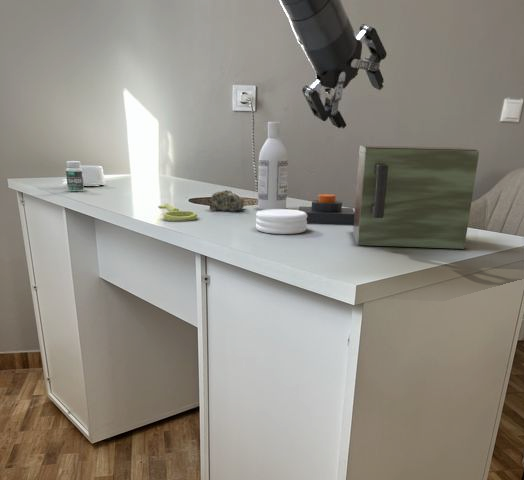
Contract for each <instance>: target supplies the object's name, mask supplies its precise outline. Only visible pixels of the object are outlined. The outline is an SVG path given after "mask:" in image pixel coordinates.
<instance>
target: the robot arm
mask: <svg viewBox="0 0 524 480" xmlns="http://www.w3.org/2000/svg"><path fill="white" fill-rule="evenodd" d="M278 1H279V3H280V5H281V6H282V7H281V8H283V11H284V12H285V14H286V16H287V18H288V21H289V24H290V26H291V30H292V31H293V33H294V35H295V38H296V40H297V43H298V44H299V45H300V47H301V48H302V50H303V53H304V54H305V56H306V58H307V60H308V62H309V63H310V65H311V67H312V69H313V71H314V72H315V78H316V80H314V81H313V82H312V83H311V84H310V85H309V86H308V85H303V87H302V89H301V92H302V94H303V96H304V98H305V100H306V102H307V105H308V106H309V108H310V110H311V113H312V115H313V116H314V117H315V118H317V119H319V120H321V121H322V122H327V121H328V119H329V121H330V122H331V124H332V125H333V126H335V127H336V128H338V129H342V130H344V129H345V128H346V127H347V122H346V121H345V119H344V117H343V115H342V114H341V112H340V110H339V104H340V101H341V100H342V97H343V89H344V90H345V89H346V88H347V86H348V85H349V84H350V82H351V81H352V80H353V79H355V78H356V77H357V76H358V74H359V70H360V69H361V70H364V71H365V73H366V75H367V77H368V80H369V82H370V84H371V85H372V87H373V88H374V89H376V90H378V91H381V90H382V89H383V88H384V85H383V83H384V81H385V80H384V77H383V74H382V72H381V69H380V63H381V61H382V60H385V59H386V58H387V55H388V54H387V51H386V49H385V47H384V45H383V43H382V40H381V38H380V35H379V33H378V32H377V29H376V28H375V27H373V26H371V25H368V24H366V23H362V24H361V25H360V26H359V33H357V35H356V33H355V30H354V28H353V26H352V23H351V20H350V18H349V16H348V14H347V11H346V9H345V7H344V4H343V2H342V0H278ZM363 44H364V45H366V46H367V47H366V48H367V49H368V50H369V53H370V56H369V57H363V56H362V51H363ZM321 89H322V91H321ZM332 89H333V90H332ZM322 96H323V101H322V99H321V98H322Z"/></svg>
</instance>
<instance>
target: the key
mask: <svg viewBox="0 0 524 480" xmlns="http://www.w3.org/2000/svg"><path fill="white" fill-rule="evenodd" d="M157 208H158V209H160V210H163V209H165V210H166V211H165V212H163V220H164V221H168V222H182V221H184V222H185V221H195V220H197V218H198V214H197V212H195V211H190V210H180V209H179V208H176V207H175V208H174V207H173V206H172V205H170V204H169V203H165V204H164V205H158V206H157Z"/></svg>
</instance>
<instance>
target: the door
mask: <svg viewBox="0 0 524 480" xmlns="http://www.w3.org/2000/svg"><path fill="white" fill-rule="evenodd" d="M479 156H480V151H479V150H477V151H460V150H418V149H375V148H365V159H364V171H363V183H362V195H361V207H360V219H359V231H358V243H357V242H356V244H357V246H375V247H404V248H429V249H430V248H433V249H455V250H456V249H459V250H460V249H461V250H465V246H466V240H467V233H468V227H469V220H470V214H471V208H472V201H473V195H474V189H475V188H474V187H475V181H476V175H477V169H478V162H479V158H480V157H479Z"/></svg>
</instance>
